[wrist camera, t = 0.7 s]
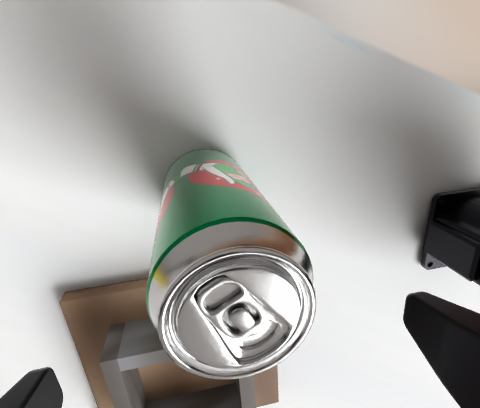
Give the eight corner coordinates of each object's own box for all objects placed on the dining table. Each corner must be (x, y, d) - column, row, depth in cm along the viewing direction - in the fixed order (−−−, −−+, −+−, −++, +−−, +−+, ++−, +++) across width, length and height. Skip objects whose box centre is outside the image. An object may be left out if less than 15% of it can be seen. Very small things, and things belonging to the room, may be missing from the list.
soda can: (197, 237, 20) (217, 416, 9) (146, 179, 18) (95, 317, 7) (258, 194, 20) (357, 323, 9) (214, 130, 18) (271, 194, 7)
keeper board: (269, 258, 22) (287, 291, 18) (275, 391, 27) (290, 438, 23) (65, 292, 20) (38, 338, 16) (113, 429, 25) (102, 488, 21)
